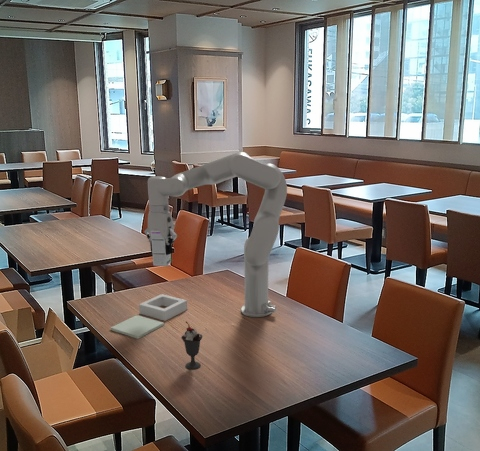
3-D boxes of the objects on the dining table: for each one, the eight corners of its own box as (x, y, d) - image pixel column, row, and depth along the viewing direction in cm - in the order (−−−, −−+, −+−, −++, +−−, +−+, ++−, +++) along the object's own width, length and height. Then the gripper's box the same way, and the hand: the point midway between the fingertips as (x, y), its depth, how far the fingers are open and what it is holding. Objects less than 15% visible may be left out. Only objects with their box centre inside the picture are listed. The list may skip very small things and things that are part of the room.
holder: (187, 309, 213) (186, 300, 212) (165, 320, 202) (164, 311, 201) (162, 302, 220) (161, 293, 219) (139, 313, 209) (139, 304, 208)
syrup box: (166, 266, 203) (164, 230, 200) (152, 265, 204) (150, 230, 201) (171, 262, 209) (169, 227, 205) (157, 261, 210) (155, 226, 207)
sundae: (182, 361, 170) (181, 318, 167) (203, 360, 171) (201, 317, 167) (182, 371, 164) (180, 327, 160) (203, 370, 164) (202, 326, 161)
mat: (164, 325, 198) (163, 322, 198) (138, 338, 187) (137, 336, 187) (137, 317, 206) (137, 314, 206) (110, 330, 194) (110, 327, 194)
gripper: (182, 208, 200) (184, 253, 204) (149, 204, 209) (151, 247, 213) (169, 212, 194) (172, 258, 198) (135, 208, 203) (138, 251, 207)
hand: (161, 252), depth 205 cm, fingers closed on syrup box, 7 cm apart
